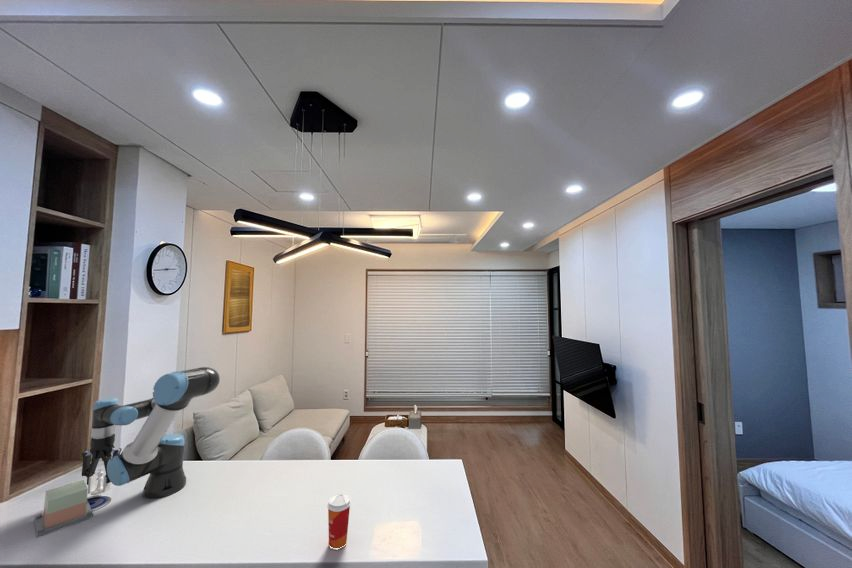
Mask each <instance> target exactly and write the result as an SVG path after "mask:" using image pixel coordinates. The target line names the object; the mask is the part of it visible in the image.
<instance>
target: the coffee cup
mask: <svg viewBox="0 0 852 568" xmlns="http://www.w3.org/2000/svg"><path fill="white" fill-rule="evenodd" d="M351 504H352V501H351V498H350V496H349V495H347V494H336V495H333V496H331V497H330V499H329V500H328V503H327V505H326V506H327V509H328V512H327V513H328V515H327V516H328V521H327V522H328V523H327V524H328V546H329V545H330V546H331V547H333V548H340V547H342V546H344V545H345V544H346V545H347V540H348V530H349V529H348V528H349V520H350V519H349V518H350V509H351V508H350V507H351ZM346 545H345V546H346Z"/></svg>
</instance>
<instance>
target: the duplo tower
mask: <svg viewBox="0 0 852 568" xmlns="http://www.w3.org/2000/svg"><path fill="white" fill-rule="evenodd" d="M44 494H45V496H44V505H43V514H42V513H39V514H36V516H35V517H34V521H33V522H34V523H33V524H34V529H35V534H36V535H37V536H36V535H35V536H36V538H39V537H42V536H44V535H48V534H50V533H53V532H56V531H58V530H59V531H60V530H62V529H65V528H67V527H71V526H73V525H76V524H77V523H81V522H83V521H86V520H89V519H92V518H94V512H93V510H92V508H91V505H90V503H89V500H88V498H87V497H88V485H87V483H86V482H85V480H84V479H83V480H80V481H76V482H72V483H70V484H66V485H63V486H62V485H61V486H59V487H55V488H52V489H48V490H45V493H44ZM38 536H39V537H38Z"/></svg>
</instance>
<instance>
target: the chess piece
mask: <svg viewBox="0 0 852 568" xmlns="http://www.w3.org/2000/svg"><path fill="white" fill-rule="evenodd" d="M103 475H104V470H103V468H102V467H100V468H99V469H98V472H96V476H97V477H96V481H97V483H96V487H95V490H93V491H92V492H91V493H90V495H91V496H98V495H100V494H103V493H104V492H103V484H102V483H103V482H102V480H104V476H103Z"/></svg>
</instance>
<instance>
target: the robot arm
mask: <svg viewBox="0 0 852 568" xmlns="http://www.w3.org/2000/svg"><path fill="white" fill-rule="evenodd" d="M220 380H221V379H220V374H219V373H218V371H217V370H216V369H214V368H212V367H206V366H205V367H204V366H202V367H198V368H192V369H187V370H181V371H180V370H179V371H172V372H169V373H166V374H164V375H162V376H160V377H159V378H158V379H157V380H156V382H155V383H154V385H153V388H152V390H153V392H152V398H149V399H144V400H140V401H136V402H132V403H129V404H128V403H127V404H123V405H120V404H119V401H118V398H114V397H110V398H103V399H99V400H97V401H95V402H94V403H93V409H92V421H91V430H90V431H91V433H90V437H91V439H90V442H89V443H90V449H88V450H85V451H83V452H82V453H81V456H82V465H81V466H82V467H81V476H82V477H86V486H87V488H88V491H87V495H89V494H90V495H91V492H92V491H93V490H95V489H96V487H97V482H96V481H97V480H96V479H97V473H96V470H97V467H98V464H99V462H100V459H101V460H102V462H103V466H104V471H105V475H104V476H103V482H102V483H103V484H102V486H103V493H106V492H107V491H109V490H111V484H112V485H114V486H117V487H120V486H123V485H126V484H129V483H132V482H133V481H136V480H138V479H140V478H143V477H145V476H147V475H149V476H148V478H147V479H146V482H145V485H144V487H143V490H142V496H143V497H144V498H147V499H158V498H163V497H167V496H170V495H173V494H175V493H177V492H178V491H180V490H182V489H183V488H184V487H185V486H186V485H187V476H186V474H185V471H184V466H183V464H184V453H185V436H184V435H182V434H177V433H168V434H166V433H167V432H168V430H169V429H170V427H171V425H172V424H173V422H174V421H175V419H176V418H177V416H178V414H179V412H180V411H182V410H185V409H186V408H187V407H188V406H189V404H190V402H191V401H192V399H194V398H197V397H201V396H204V395H208V394H210V393H212V392H213V391H215V390H216V389H217V388H218V386H219V384H220ZM143 418H146V420H145V422H144V424H143V425H142V427H141V429H140V430H139V432H138V433H137V435H136V436H135V438H134V440H133V441H132V442H130V443H128V444H126V446H125V447H124V448H123V450H122V448H121V447H119V448H115V446H114V444H115V441H116V427H117V426H128V425H131V424H132V423H133V422H135V421H136V420H137V421H138V420H141V419H143Z"/></svg>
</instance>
